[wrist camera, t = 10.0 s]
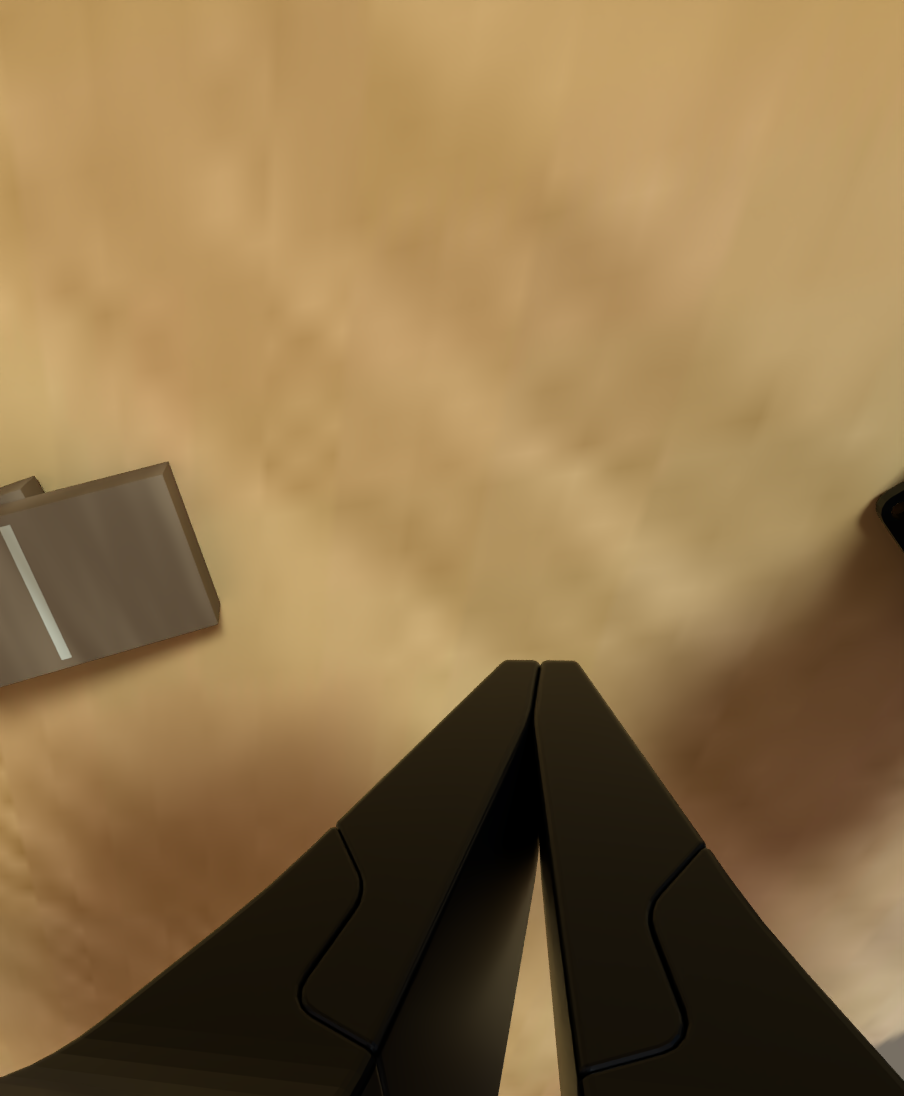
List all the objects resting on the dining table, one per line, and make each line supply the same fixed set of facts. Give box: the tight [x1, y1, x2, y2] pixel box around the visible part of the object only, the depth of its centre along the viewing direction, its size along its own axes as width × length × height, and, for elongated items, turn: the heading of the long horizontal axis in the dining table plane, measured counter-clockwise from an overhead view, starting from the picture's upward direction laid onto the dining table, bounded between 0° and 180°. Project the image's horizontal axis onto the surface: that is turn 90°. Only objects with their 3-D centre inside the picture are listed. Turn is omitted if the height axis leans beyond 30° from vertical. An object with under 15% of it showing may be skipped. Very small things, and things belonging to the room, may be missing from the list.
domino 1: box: [0, 462, 220, 687], centre depth 23 cm, size 2×5×9 cm
